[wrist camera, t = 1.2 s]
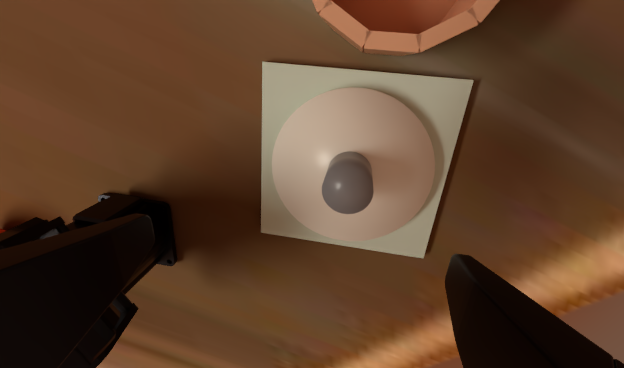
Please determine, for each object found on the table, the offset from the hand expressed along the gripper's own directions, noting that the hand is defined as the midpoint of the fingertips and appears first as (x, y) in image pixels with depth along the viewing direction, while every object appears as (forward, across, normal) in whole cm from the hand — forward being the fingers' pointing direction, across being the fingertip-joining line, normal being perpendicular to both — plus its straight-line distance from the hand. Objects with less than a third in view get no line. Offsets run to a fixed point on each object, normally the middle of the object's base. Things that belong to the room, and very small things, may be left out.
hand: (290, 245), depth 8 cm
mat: (+13, -1, +2) cm, 13 cm away
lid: (+13, -1, +2) cm, 13 cm away
